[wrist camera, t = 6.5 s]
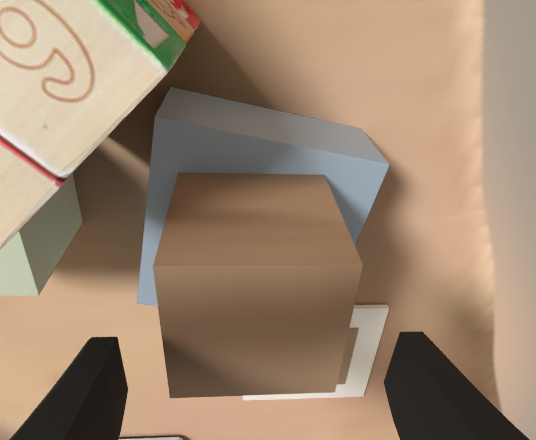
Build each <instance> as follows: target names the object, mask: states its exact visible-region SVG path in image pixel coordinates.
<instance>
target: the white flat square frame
mask: <svg viewBox="0 0 536 440" xmlns="http://www.w3.org/2000/svg"><path fill="white" fill-rule="evenodd" d="M388 311H389V307H388V305H354V309H353V314H352V318H351V323H350V327H349V332H348V336H347V341H346V345H345V350H344V354H343V359H342V363H341V368H340V372H339V376H338V381H337V385H336V390H335V392H332V393H303V394H274V395H245V396H243V400H269V399H301V398H333V397H363V396H364V393H365V389H366V386H367V382H368V379H369V376H370V372H371V369H372V365H373V362H374V359H375V355H376V352H377V348H378V345H379V341H380V338H381V335H382V331H383V328H384V324H385V321H386V318H387V314H388Z"/></svg>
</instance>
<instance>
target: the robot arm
mask: <svg viewBox="0 0 536 440" xmlns="http://www.w3.org/2000/svg"><path fill="white" fill-rule="evenodd" d="M384 385H385V389H386V393H387V397H388V402H389V406H390V409H391V413H392V417H393V421H394V424H395V426H396V429H397V432H398V435H399V437H400V440H529V439H528V438H527V437H526V436H525V435H524V434H523V433H522V432H521V431H519V430H518V429H517V428H516V427H515V426H514V425H513V424H512V423H511V422H510V421H509V420H508V419H507V418H506V417H505V416H504V415H503V414H502V413H501V412H499V411H498V410H497V409H496V408H495V407H494V406H493V405H492V404H491V403H490V402H489V401H488V400H487V399H486V398H485V397H484V396H483V395H482V394H481V393H480V392H479V391H478V390H477V388H476V387H475V386H474V385H473V384H472V383H471V382H470V381H469V380H468V379H467V378H466V377H465V376H464V375H463V374H462V373H461V372H460V371H459V370H458V369H457V368H456V367H455V366H454V364H453V363H452V362H451V361H450V360H449V359H448V358H447V357H446V356H445V355H444V354H443V353H442V352H441V351H440V350H439V349H438V347H437V346H436V345H435V344H434V343H433V342H432V341H431V340H430V339H429V338H428V337H427V336H426V335H425V334H424V333H423V332H400V334H399V337H398V340H397V343H396V346H395V349H394V352H393V355H392V358H391V362H390V365H389V368H388V371H387V374H386V377H385V380H384ZM127 393H128V387H127V382H126V377H125V372H124V367H123V362H122V357H121V353H120V348H119V343H118V338H117V337H92V338H90V339H89V340H88V341H87V343H86V344H85V345H84V347H83V348H82V349H81V351H80V352H79V353H78V355H77V356H76V358H75V359H74V360H73V362H72V363H71V364H70V366H69V367H68V368H67V370H66V371H65V372H64V374H63V375H62V376H61V377H60V379H59V380H58V381H57V383H56V384H55V385H54V386H53V388H52V389H51V390H50V392H49V393H48V394H47V395H46V397H45V398H44V399H43V400H42V401H41V403H40V404H39V405H38V406H37V408H36V409H35V410H34V411H33V413H32V414H31V415H30V416H29V417H28V419H27V420H26V421H25V422H24V424H23V425H22V426H21V427H20V428H19V429H18V431H17V432H16V433H15V434H14V435H13V436H12V437H11V439H10V440H183V439H182V438H180V437H160V438H134V439H119V435H120V431H121V426H122V421H123V416H124V410H125V404H126V398H127Z"/></svg>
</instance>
